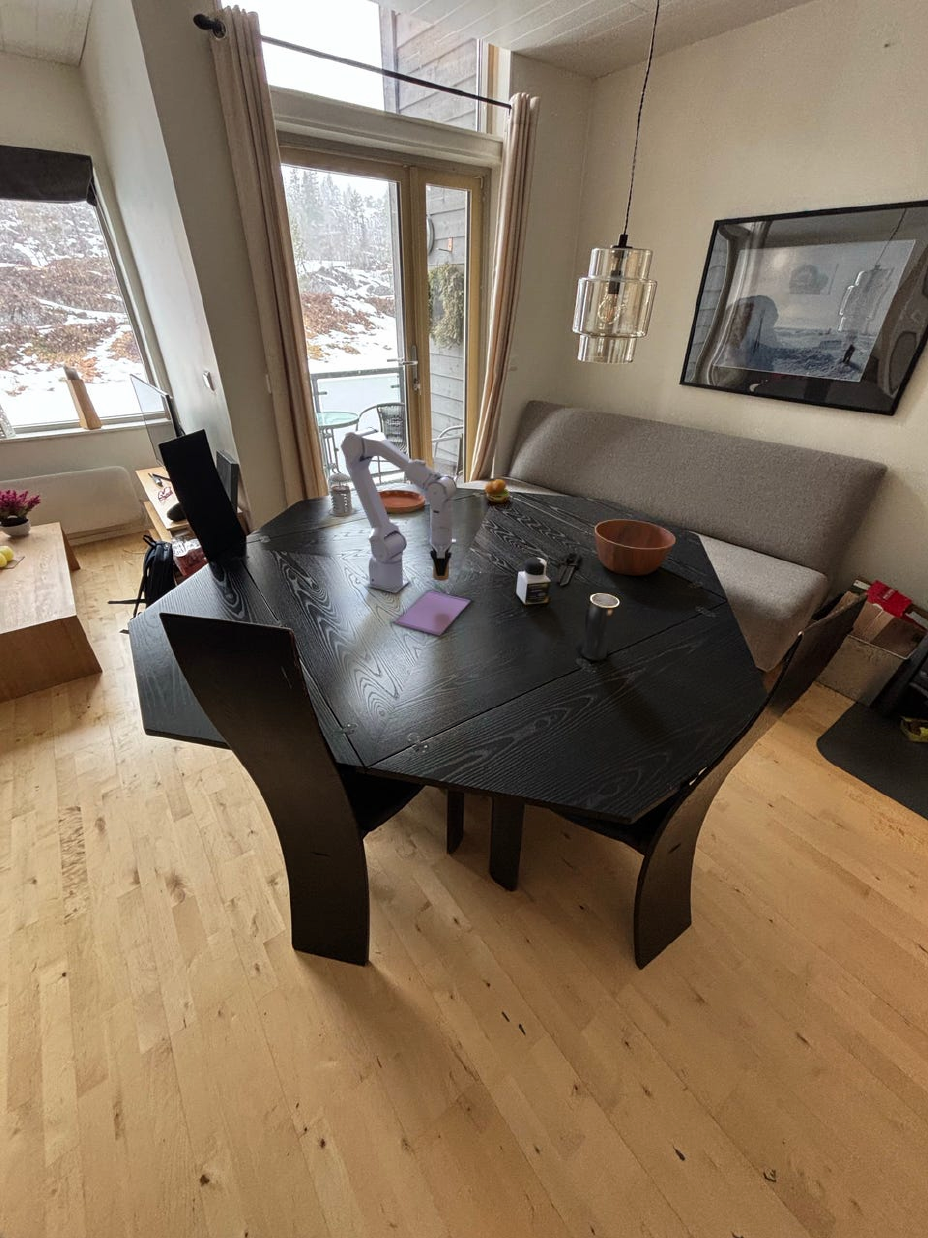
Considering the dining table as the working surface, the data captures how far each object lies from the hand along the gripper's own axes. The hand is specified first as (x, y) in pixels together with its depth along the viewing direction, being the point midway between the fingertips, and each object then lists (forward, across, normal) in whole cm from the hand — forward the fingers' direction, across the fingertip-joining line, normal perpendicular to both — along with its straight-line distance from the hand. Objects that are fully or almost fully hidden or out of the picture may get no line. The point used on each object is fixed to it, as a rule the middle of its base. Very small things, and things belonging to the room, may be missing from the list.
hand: (440, 571), depth 137 cm
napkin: (+9, -7, +2) cm, 11 cm away
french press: (+9, +70, +40) cm, 81 cm away
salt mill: (+2, 0, 0) cm, 2 cm away
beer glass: (+9, -26, -38) cm, 47 cm away
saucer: (+9, +79, +19) cm, 82 cm away
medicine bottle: (+9, +2, -26) cm, 28 cm away
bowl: (+9, +25, -62) cm, 67 cm away
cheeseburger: (+5, +89, -24) cm, 93 cm away
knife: (+9, +20, -41) cm, 47 cm away
